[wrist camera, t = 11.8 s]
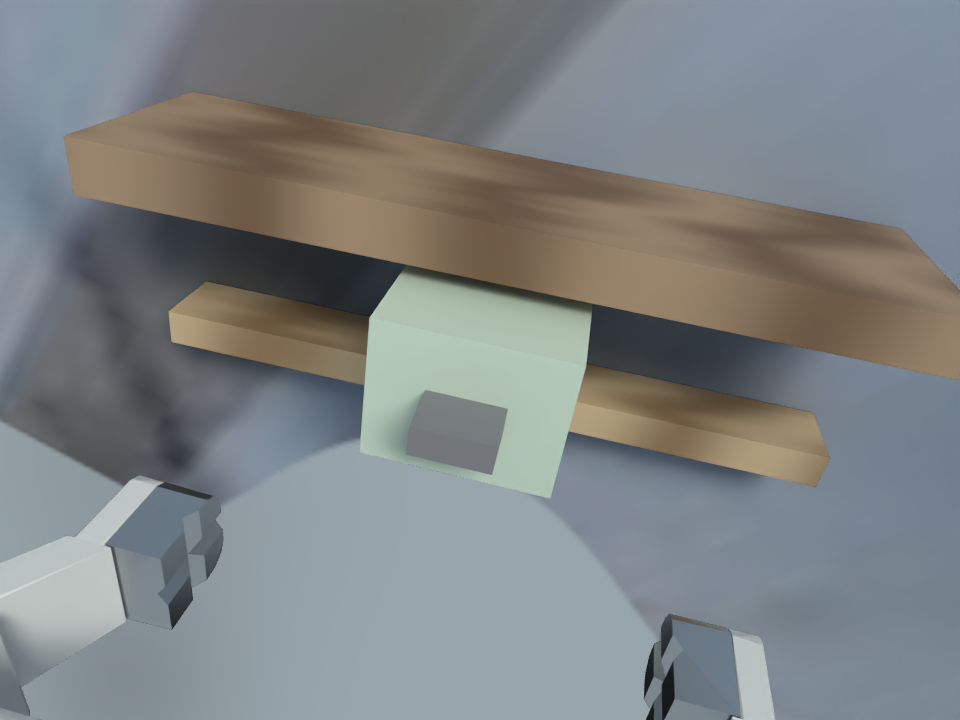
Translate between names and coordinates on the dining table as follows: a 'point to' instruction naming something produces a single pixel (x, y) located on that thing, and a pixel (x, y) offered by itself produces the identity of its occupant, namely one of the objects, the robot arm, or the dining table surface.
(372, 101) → the dining table surface
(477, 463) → the cabinet block
